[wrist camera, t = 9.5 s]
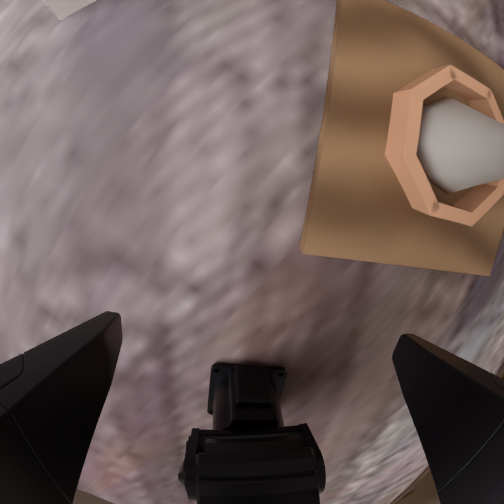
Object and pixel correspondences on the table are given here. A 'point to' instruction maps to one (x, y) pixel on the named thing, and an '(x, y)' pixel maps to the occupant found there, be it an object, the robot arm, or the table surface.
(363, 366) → the table surface
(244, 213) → the table surface
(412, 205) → the ring
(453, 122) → the flask
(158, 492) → the table surface
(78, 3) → the grater
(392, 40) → the board
